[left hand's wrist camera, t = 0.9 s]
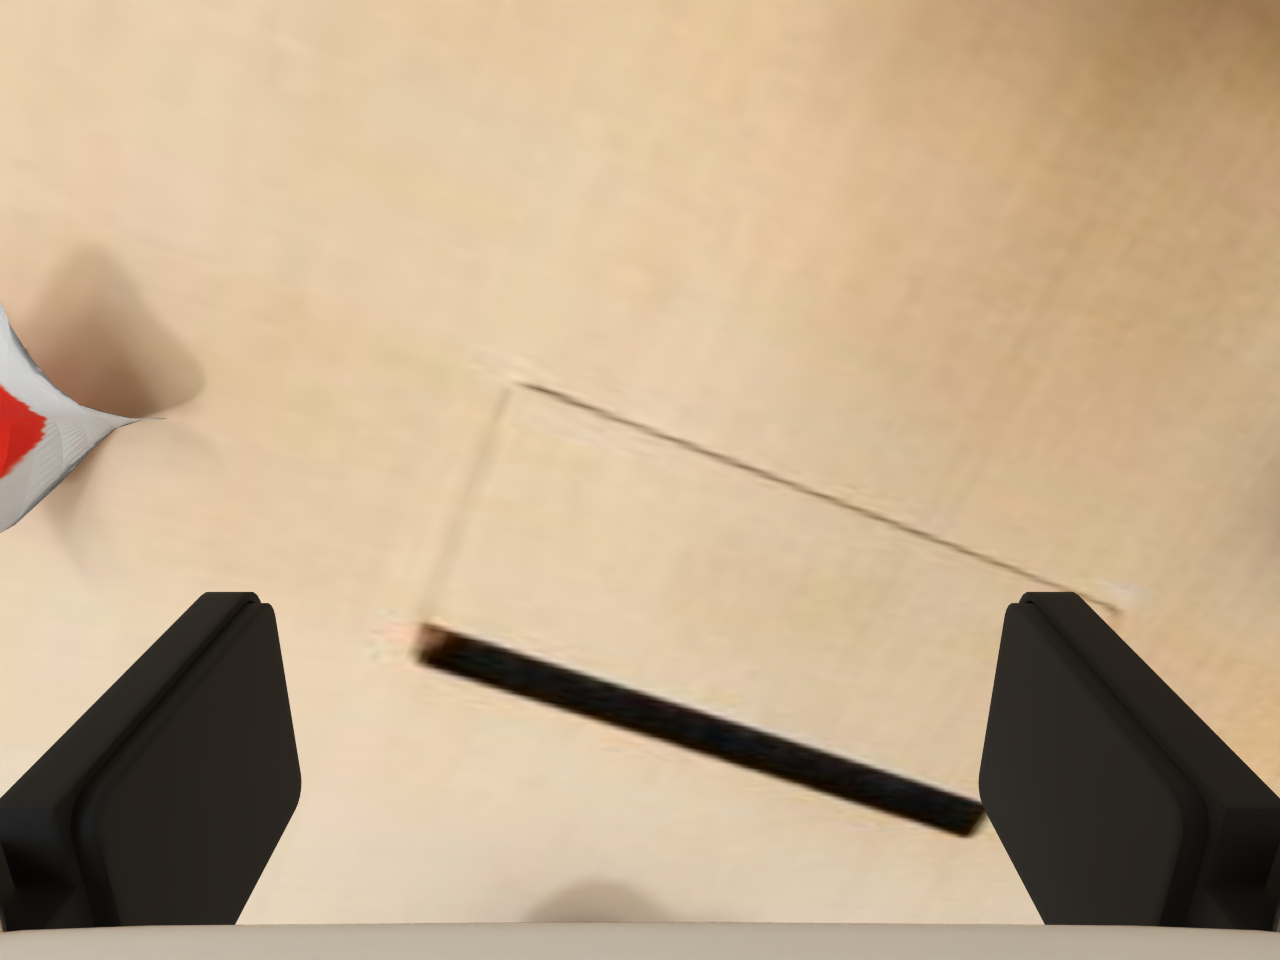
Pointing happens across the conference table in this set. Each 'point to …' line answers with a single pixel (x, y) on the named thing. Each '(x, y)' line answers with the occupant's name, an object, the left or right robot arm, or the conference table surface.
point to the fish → (39, 430)
